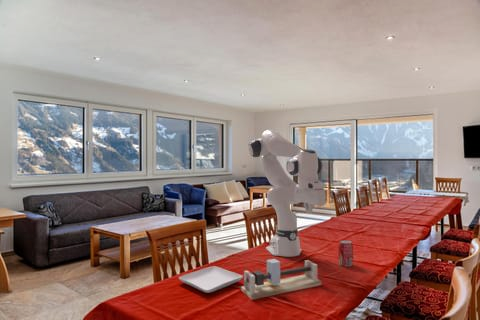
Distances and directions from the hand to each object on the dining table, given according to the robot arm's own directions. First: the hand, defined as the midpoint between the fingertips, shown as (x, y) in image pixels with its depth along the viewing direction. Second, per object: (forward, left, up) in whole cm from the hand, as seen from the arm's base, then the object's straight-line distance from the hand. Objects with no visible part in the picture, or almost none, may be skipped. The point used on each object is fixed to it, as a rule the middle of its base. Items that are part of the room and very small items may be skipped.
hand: (308, 212), depth 154 cm
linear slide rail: (+8, -20, -29) cm, 36 cm away
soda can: (-2, +24, -29) cm, 38 cm away
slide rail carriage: (+8, -24, -26) cm, 36 cm away
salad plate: (-10, -46, -30) cm, 56 cm away
